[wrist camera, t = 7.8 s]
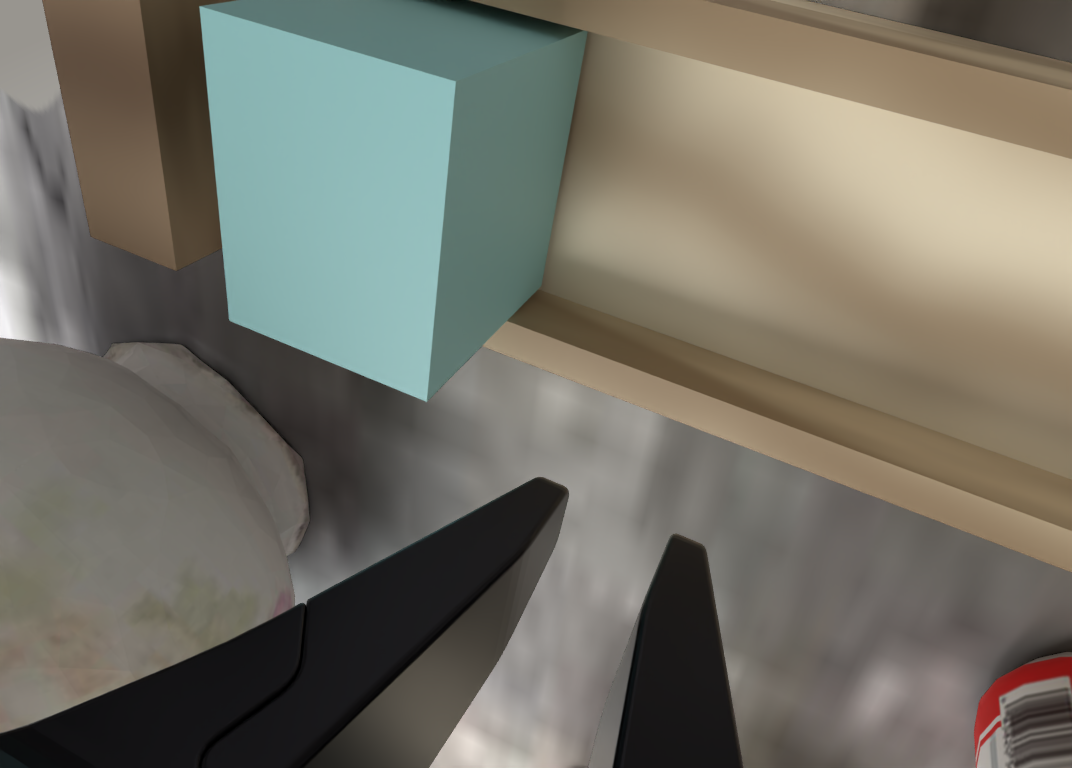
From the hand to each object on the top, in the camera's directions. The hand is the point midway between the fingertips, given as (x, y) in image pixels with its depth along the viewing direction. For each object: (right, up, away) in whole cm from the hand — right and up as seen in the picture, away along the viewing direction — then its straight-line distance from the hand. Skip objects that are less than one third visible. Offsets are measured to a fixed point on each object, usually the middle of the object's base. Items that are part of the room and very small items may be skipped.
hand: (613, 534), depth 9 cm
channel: (+2, +7, +10) cm, 12 cm away
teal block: (-3, +8, +10) cm, 13 cm away
